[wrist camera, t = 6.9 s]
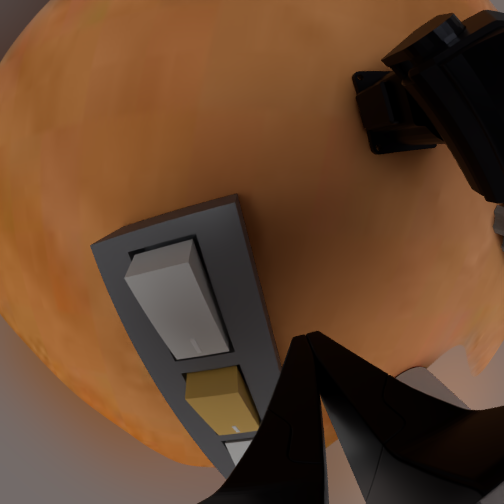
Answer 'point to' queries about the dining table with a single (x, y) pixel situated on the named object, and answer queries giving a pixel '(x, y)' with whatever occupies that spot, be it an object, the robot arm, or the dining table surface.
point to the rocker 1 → (179, 300)
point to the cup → (429, 385)
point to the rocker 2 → (222, 400)
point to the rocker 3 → (237, 448)
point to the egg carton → (499, 222)
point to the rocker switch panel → (228, 297)
